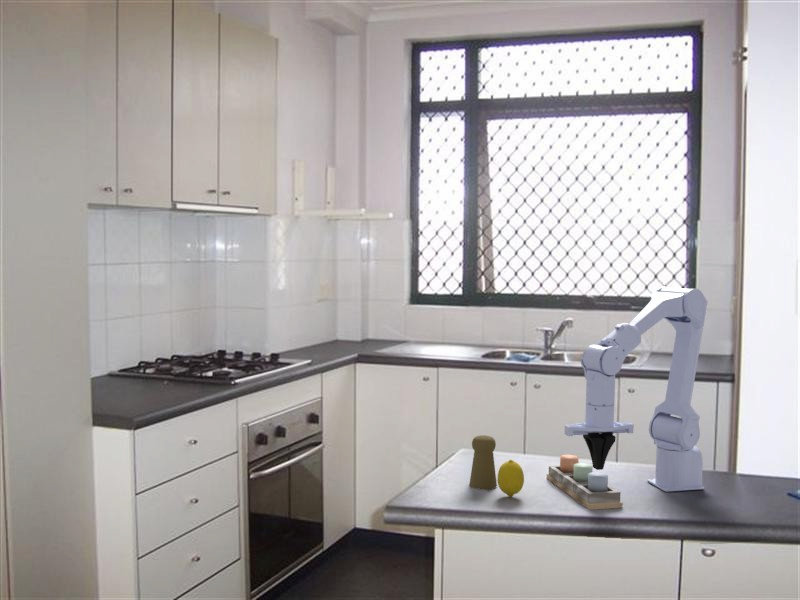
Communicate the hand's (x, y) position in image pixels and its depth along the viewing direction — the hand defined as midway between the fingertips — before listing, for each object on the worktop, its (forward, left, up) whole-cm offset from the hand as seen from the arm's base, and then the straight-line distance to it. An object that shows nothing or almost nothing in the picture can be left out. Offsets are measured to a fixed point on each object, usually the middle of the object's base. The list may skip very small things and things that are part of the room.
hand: (598, 468), depth 173 cm
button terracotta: (0, -14, -4) cm, 15 cm away
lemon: (+16, -7, -7) cm, 19 cm away
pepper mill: (+19, -16, -7) cm, 26 cm away
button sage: (0, -7, -4) cm, 8 cm away
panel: (0, -7, -7) cm, 10 cm away
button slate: (0, 0, -4) cm, 4 cm away
